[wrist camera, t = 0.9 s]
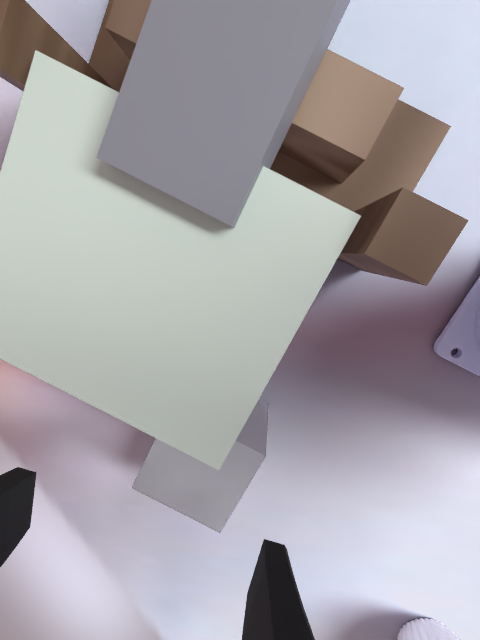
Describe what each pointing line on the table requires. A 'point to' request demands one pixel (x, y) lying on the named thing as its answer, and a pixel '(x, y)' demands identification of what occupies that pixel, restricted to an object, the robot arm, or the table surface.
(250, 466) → the granite cube
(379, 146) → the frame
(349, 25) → the table surface
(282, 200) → the trapdoor
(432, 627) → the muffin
